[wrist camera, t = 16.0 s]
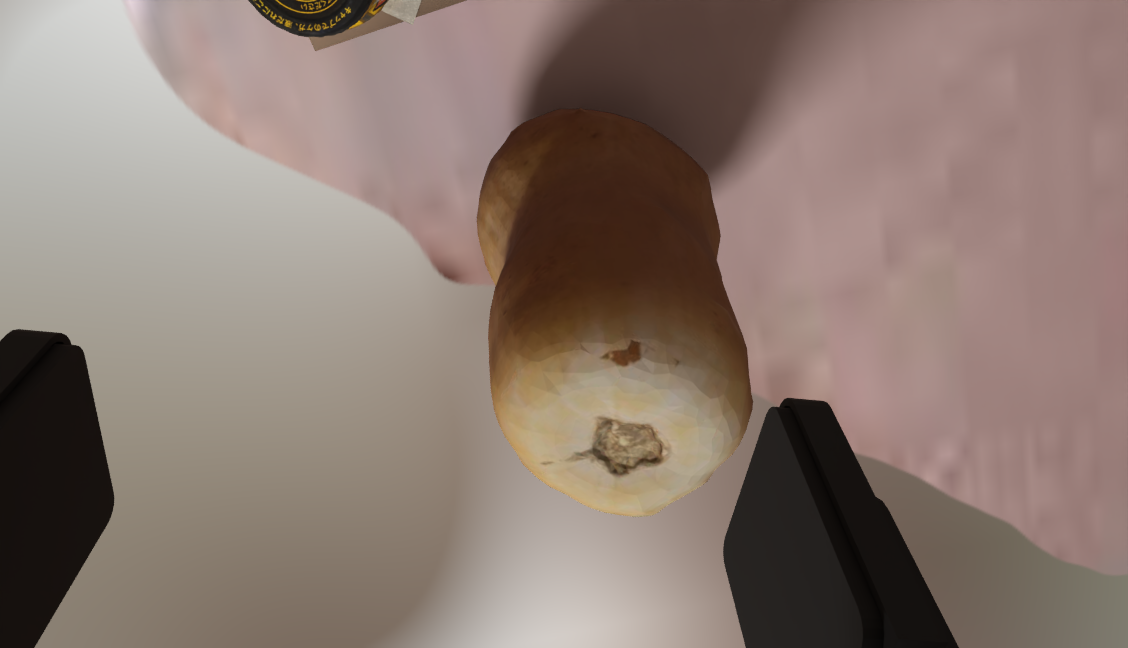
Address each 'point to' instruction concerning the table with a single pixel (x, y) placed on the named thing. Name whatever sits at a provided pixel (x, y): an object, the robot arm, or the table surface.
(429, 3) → the beige square block
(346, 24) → the condiment
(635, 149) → the butternut squash
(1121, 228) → the table surface
